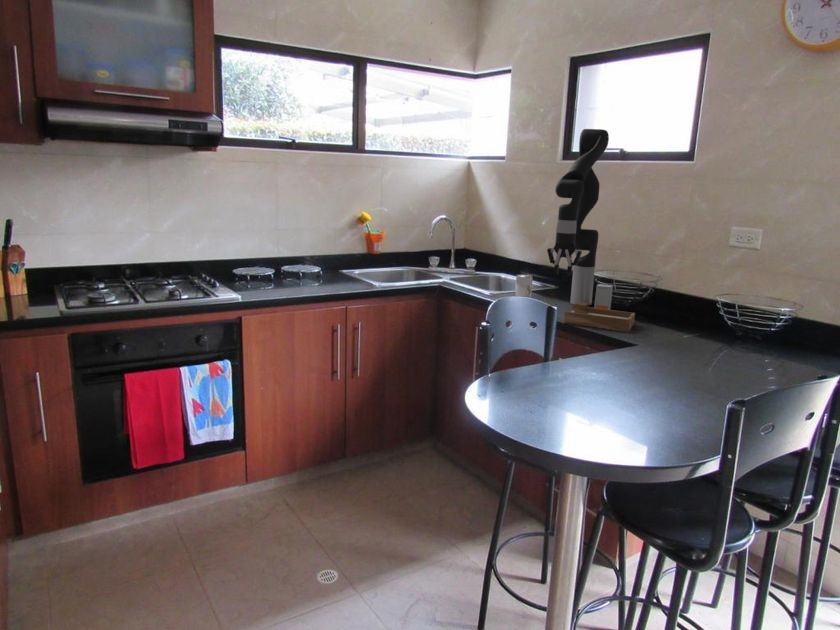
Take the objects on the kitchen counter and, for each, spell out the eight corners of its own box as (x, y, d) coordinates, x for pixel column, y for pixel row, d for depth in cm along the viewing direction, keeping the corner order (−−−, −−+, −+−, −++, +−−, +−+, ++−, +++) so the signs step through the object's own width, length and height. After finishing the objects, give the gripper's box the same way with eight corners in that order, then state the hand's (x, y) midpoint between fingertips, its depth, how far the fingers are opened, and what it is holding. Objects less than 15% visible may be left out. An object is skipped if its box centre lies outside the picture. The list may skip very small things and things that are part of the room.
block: (576, 311, 247) (576, 302, 246) (587, 313, 245) (588, 303, 244) (573, 313, 243) (574, 303, 242) (585, 315, 241) (586, 305, 241)
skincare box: (593, 313, 257) (596, 285, 254) (595, 311, 260) (598, 283, 258) (608, 315, 254) (611, 286, 251) (610, 313, 258) (613, 285, 255)
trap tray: (572, 316, 250) (573, 305, 249) (633, 324, 240) (635, 312, 239) (563, 323, 237) (564, 312, 236) (628, 331, 227) (629, 320, 226)
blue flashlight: (512, 312, 254) (515, 276, 251) (514, 308, 261) (516, 273, 257) (529, 313, 253) (532, 277, 249) (531, 310, 259) (533, 275, 256)
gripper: (586, 232, 241) (582, 275, 245) (550, 229, 247) (547, 272, 251) (582, 233, 234) (578, 278, 238) (545, 231, 240) (542, 274, 244)
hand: (562, 274), depth 244 cm, fingers open, 4 cm apart
